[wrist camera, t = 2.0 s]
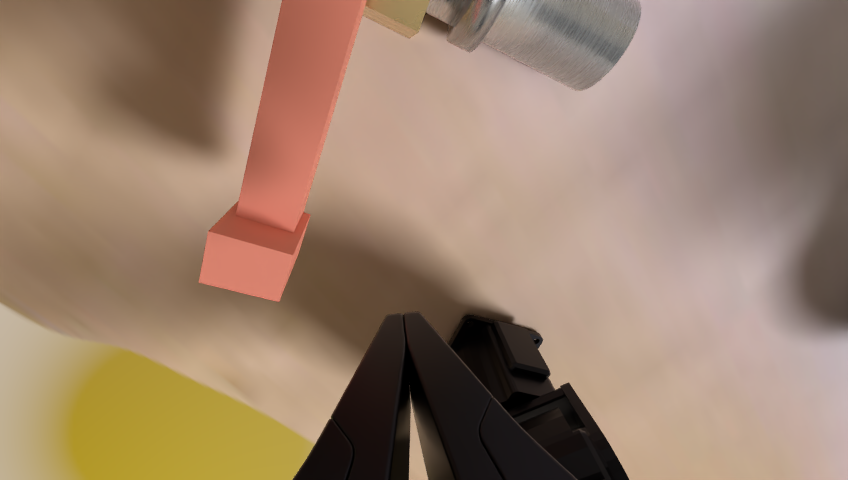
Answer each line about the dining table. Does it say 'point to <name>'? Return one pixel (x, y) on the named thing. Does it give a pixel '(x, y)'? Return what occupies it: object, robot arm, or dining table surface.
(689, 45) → the dining table surface
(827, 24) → the dining table surface
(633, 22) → the valve
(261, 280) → the lever
